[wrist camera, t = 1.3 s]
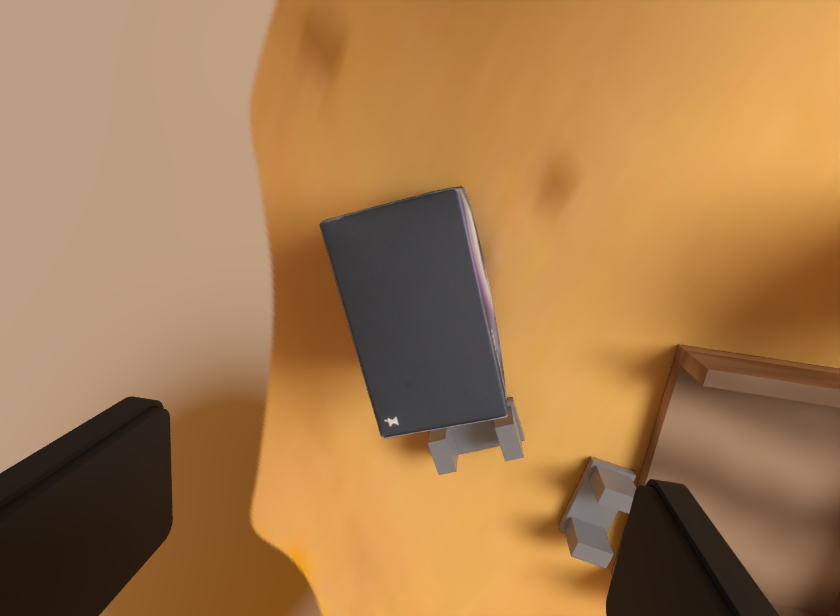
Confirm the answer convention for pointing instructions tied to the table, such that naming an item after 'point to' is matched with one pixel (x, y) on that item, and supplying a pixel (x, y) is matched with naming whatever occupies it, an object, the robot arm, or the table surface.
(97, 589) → the robot arm
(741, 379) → the holder
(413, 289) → the small box
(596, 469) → the clip
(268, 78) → the table surface
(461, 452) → the clip
